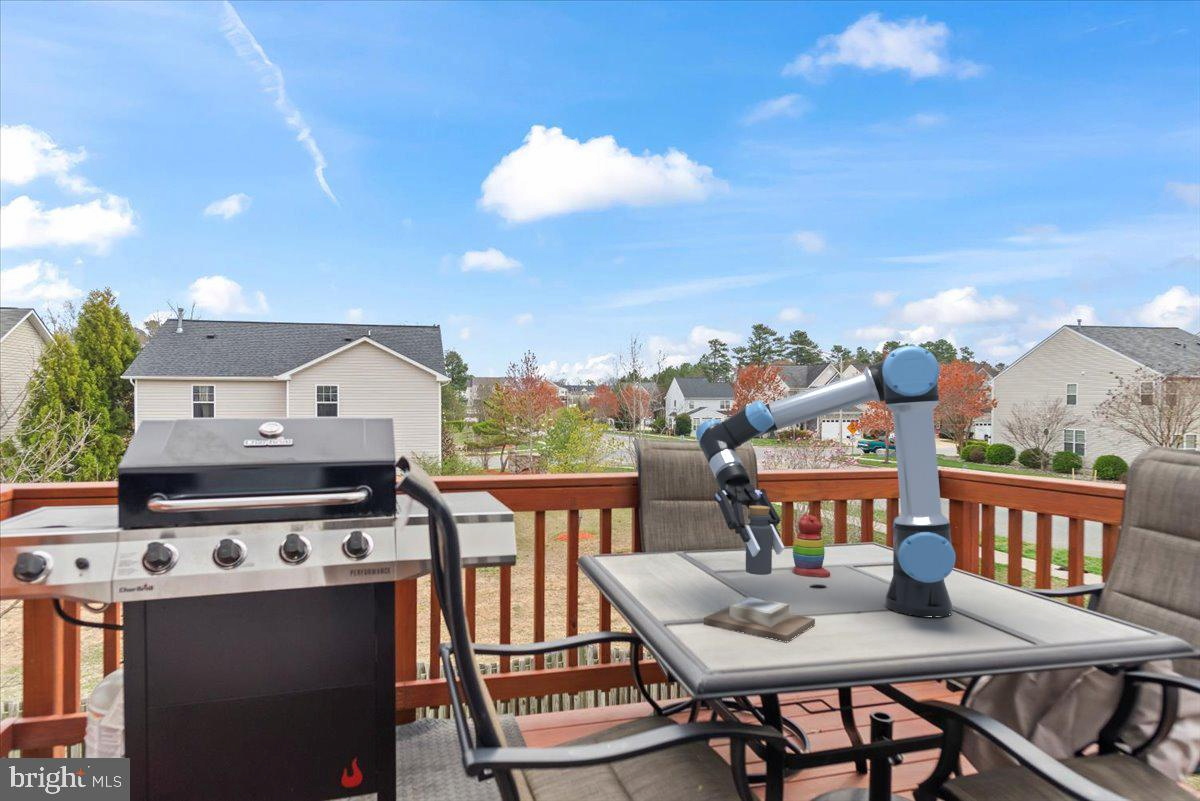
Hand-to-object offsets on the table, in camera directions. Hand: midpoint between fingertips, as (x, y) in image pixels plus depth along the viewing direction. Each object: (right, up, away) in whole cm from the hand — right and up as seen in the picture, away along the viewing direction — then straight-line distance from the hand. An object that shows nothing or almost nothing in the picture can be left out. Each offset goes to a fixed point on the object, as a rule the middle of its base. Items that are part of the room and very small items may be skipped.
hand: (768, 551), depth 157 cm
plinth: (-1, -17, +3) cm, 18 cm away
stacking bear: (+26, -19, +56) cm, 65 cm away
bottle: (-2, -6, +3) cm, 7 cm away
